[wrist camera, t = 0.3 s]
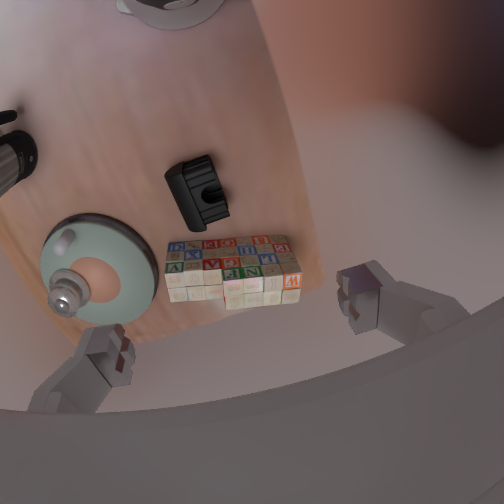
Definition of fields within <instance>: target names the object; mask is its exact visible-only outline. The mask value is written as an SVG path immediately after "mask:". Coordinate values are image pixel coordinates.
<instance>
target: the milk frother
mask: <svg viewBox="0 0 504 504" xmlns="http://www.w3.org/2000/svg"><path fill="white" fill-rule="evenodd" d="M16 118H17V112H16V111H14V110H7V111H2V112H0V125H2V124H5V123H8V122H12V121H14V120H15V119H16ZM36 163H37V149H36V145H35V143H34V141H33V139H32V138H31V137H30V135H28V134H27V133H26V132H23V131H18V130H16V131H13V132H11V133H8V134H6V135H4V136H2V137H0V197H1V196H2V195H3V194H4V193H6V192H7V191H8V190H9V189H10V188H11V187H13V186H14V185H15V184H16V183H18V182H19V181H21V180H22V179H25V178H27V177H28V176H29V175H30V174H31V173H32V172H33V171H34V169H35V166H36Z"/></svg>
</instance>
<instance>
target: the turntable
mask: <svg viewBox="0 0 504 504" xmlns="http://www.w3.org/2000/svg"><path fill="white" fill-rule="evenodd" d="M59 269H70V270H73V271H75V272H77V273H79V274H80V275H81V276H82V277H83V278H84V279H85V280H86V281H87V283H88V285H89V287H90V297H89V300H88V302H87V304H86V305H85V306H83V307H81V308H78V311H77V313H76V315H75V317H77V318H79V319H81V320H84V321H86V322H89V323H93V324H98V325H110V324H116V323H118V324H125V323H128V322H130V321H133V320H135V319H136V318H138V317H139V316H141V315H142V314H143V313H144V312H145V311H146V310H147V308H148V307H149V305H150V303H151V301H152V298H153V294H154V288H155V276H154V271H153V267H152V265H151V262H150V260H149V258H148V256H147V255H146V253H145V252H144V250H143V249H142V248H141V247H140V246H139V244H138V243H137V242H136V241H135V240H133V239H132V238H131V237H130V236H129V235H127V234H126V233H124V232H123V231H121V230H119V229H117V228H116V227H113V226H111V225H108V224H105V223H102V222H97V221H76V222H72V223H68V224H66V225H64V226H62V227H61V228H59V229H58V230H56V231H55V232H54V233H53V234H52V235H51V237H50V238H49V239H48V241H47V242H46V244H45V246H44V248H43V250H42V253H41V259H40V270H41V275H42V279H43V282H44V284H45V286H46V288H47V290H48V292H49V293H50V289H49V280H50V278H51V276H52V275H53V273H54V272H55V271H57V270H59Z"/></svg>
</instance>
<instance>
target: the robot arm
mask: <svg viewBox="0 0 504 504" xmlns="http://www.w3.org/2000/svg"><path fill="white" fill-rule="evenodd" d="M223 1H224V0H117V5H116V6H117V9H118V11H119V12H121V13H123V14H128V15H134V16H136V17H138V18H139V19H140V20H142V21H143V22H145V23H146V24H148V25H150V26H152V27H155V28H159V29H165V30H178V29H185V28H189V27H192V26H195V25H197V24H199V23H201V22H203V21H205V20H207V19H208V18H209V17H211V16H212V15H213V14H214V13H215V12H216V11H217V10H218V9H219V8H220V6H221V5H222V3H223ZM336 277H337V283H338V284H339V286H340V288H339V289H338V291H337V295H338V302H339V306H340V308H341V311H342V312H343V314H344V315H345V316H347V317H349V325H350V326H351V328H352V329H353V331H354V333H355V335H357V334H360V333H363V332H367V331H369V330H373V329H376V328H377V329H378V330H379V331H381V332H383V333H385V334H387V335H389V336H390V337H392V338H394V339H396V340H397V341H399V342H401V343H403V344H405V346H403V347H401V348H398V349H396V350H393V351H391V352H388V353H386V354H383V355H380V356H378V357H375V358H372V359H370V360H367V361H364V362H361V363H359V364H356V365H353V366H350V367H347V368H344V369H341V370H338V371H335V372H331V373H328V374H325V375H321V376H318V377H315V378H311V379H308V380H304V381H300V382H297V383H293V384H289V385H285V386H281V387H278V388H273V389H269V390H265V391H260V392H256V393H251V394H247V395H242V396H237V397H232V398H227V399H222V400H216V401H210V402H204V403H197V404H191V405H184V406H176V407H168V408H160V409H150V410H139V411H125V412H107V413H95V412H96V410H97V409H98V407H99V406H100V404H101V403H102V402H103V400H104V399H105V397H106V396H107V395H108V393H109V392H110V390H111V389H112V387H117V386H125V385H130V384H131V379H132V374H133V371H132V370H131V366H132V365H133V364H134V363H135V358H136V356H135V349H134V346H133V344H132V342H131V340H130V339H128V338H127V337H125V336H124V334H125V330H124V329H123V327H122V325H121V324H118V323H116V324H110V325H104V326H97V327H92V328H87V329H85V330H84V332H83V334H82V337H81V339H80V341H79V344H78V346H77V349H76V351H75V353H74V356H73V357H70V358H69V359H68V360H67V361H66V362H64V363H63V364H62V365H61V366H60V367H59V368H58V369H57V370H56V371H55V372H54V373H53V374H52V375H51V376H50V377H49V378H47V379H46V380H45V381H44V382H43V383H42V384H41V385H40V386H39V387H38V388H37V389H36V390H35V391H34V393H33V396H32V399H31V401H30V404H29V406H28V409H27V411H14V410H5V409H0V504H504V297H502V298H501V299H499V300H497V301H495V302H494V303H492V304H490V305H488V306H486V307H485V308H483V309H481V310H479V311H477V312H476V313H474V314H472V315H471V314H470V313H469V312H467V310H466V309H465V308H464V307H463V306H462V305H461V304H460V303H459V302H458V301H457V300H456V299H455V298H453V297H450V296H447V295H444V294H441V293H437V292H434V291H431V290H428V289H424V288H421V287H418V286H415V285H412V284H409V283H405V282H402V281H398V282H396V281H395V280H394V279H393V278H392V277H391V275H389V273H388V272H387V271H386V270H385V269H384V268H383V267H382V266H381V265H380V264H379V263H378V262H377V261H375V260H372V261H369V262H366V263H363V264H361V265H358V266H354V267H351V268H347V269H344V270H341V271H337V276H336Z"/></svg>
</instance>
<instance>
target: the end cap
mask: <svg viewBox="0 0 504 504" xmlns="http://www.w3.org/2000/svg"><path fill="white" fill-rule="evenodd" d="M164 177H165V179H166V181H167V183H168V186H169V188H170V190H171V192H172V195H173V197H174V199H175V201H176V203H177V205H178V208H179V210H180V212H181V214H182V216H183V218H184V220H185V223H186V225H187V227H188V229H189V230H190V231H192V232H202V231H206V230H207V226H206V225H207V224H209V223H212V222H215V221H218V220H220V219H223V218H226V217H229V216H230V214H229V211H228V205H227V202H226V198H225V195H224V193H223V190H222V187H221V185H220V182H219V180H218V177H217V174H216V172H215V169H214V166H213V164H212V161H211V159H210V156H209V155H204V156H202V157H199V158H196V159H194V160H191V161H188V162H186V163H184V162H181V163H179V164H177V165H175V166H173V167H172V168H170V169H169V170H168V171H167V172H166V173H165V175H164Z"/></svg>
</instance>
